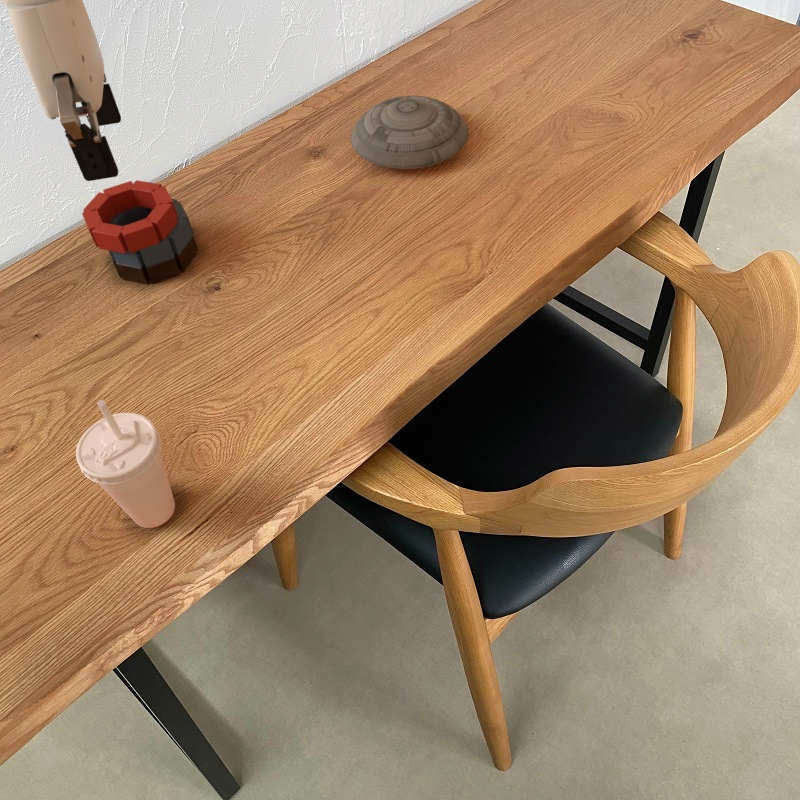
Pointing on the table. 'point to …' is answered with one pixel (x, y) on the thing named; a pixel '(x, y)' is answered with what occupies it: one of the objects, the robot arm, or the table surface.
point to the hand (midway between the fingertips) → (104, 149)
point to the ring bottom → (159, 267)
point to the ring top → (134, 233)
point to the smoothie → (128, 465)
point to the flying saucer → (409, 133)
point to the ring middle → (163, 249)
